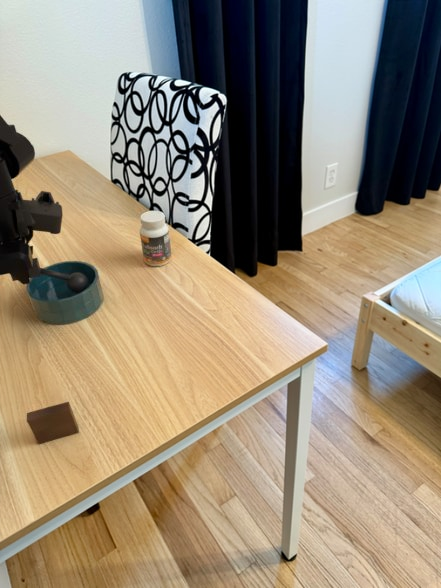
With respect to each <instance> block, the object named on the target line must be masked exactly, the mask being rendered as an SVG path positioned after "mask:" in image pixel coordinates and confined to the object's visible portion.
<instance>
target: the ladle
mask: <svg viewBox="0 0 441 588" xmlns="http://www.w3.org/2000/svg"><path fill="white" fill-rule="evenodd" d="M43 268H44V267H41V265H40V263H39V258H38V257H34V258H33V266H32V268H30V269H29V270H28V272H29V279H30V278H34V277H39V276H41V274H43V275H47V276H51V277H55V278H59V279H63V280H67V287H68V288H69V290H70V291H72V292H74V293H80V292H83V291H84V290H85V289H86V288H87V286H88V280H87V277H86V276H85V275H84V274H82V273H78V272H77V273H73V274H71V275H67V274H63V273H59V272H55V271H51V270H47V269H43ZM9 275H10V277H11V280H12V282H15V281H16V282H17V281H18V280H17V279H16V278H14V277H13V276H12V275H11V274H9Z"/></svg>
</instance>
